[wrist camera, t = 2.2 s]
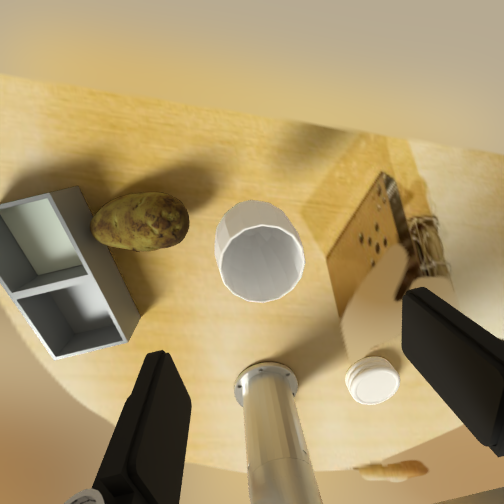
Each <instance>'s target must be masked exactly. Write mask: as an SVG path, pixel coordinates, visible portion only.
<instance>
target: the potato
mask: <svg viewBox="0 0 504 504" xmlns="http://www.w3.org/2000/svg"><path fill="white" fill-rule="evenodd" d="M188 229H189V215H188V212H187V210H186V208H185V207H184V205H183V204H182V202H181V201H180V200H178V199H176V198H175V197H173V196H171V195H168V194H165V193H160V192H143V193H137V194H128V195H124V196H121V197H118V198H116V199H114V200H111V201H110V202H108V203H106V204H105V205H104V206H103V207H102V208H101V209H100V210H99V211H98V212H97V213H96V214H95V215H94V217H93V218H92V220H91V222H90V231H91V233H92V235H93V237H94V238H95V239H96V240H97V241H99V242H100V243H102V244H104V245H107V246H111V247H116V248H122V249H129V250H134V251H137V252H140V251H142V252H144V251H153V250H157V249H160V248H168V247H171V246H174V245H176V244H178V243H180V242H181V241H182V240H183V239H184V238H185V236H186V234H187V232H188Z"/></svg>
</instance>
